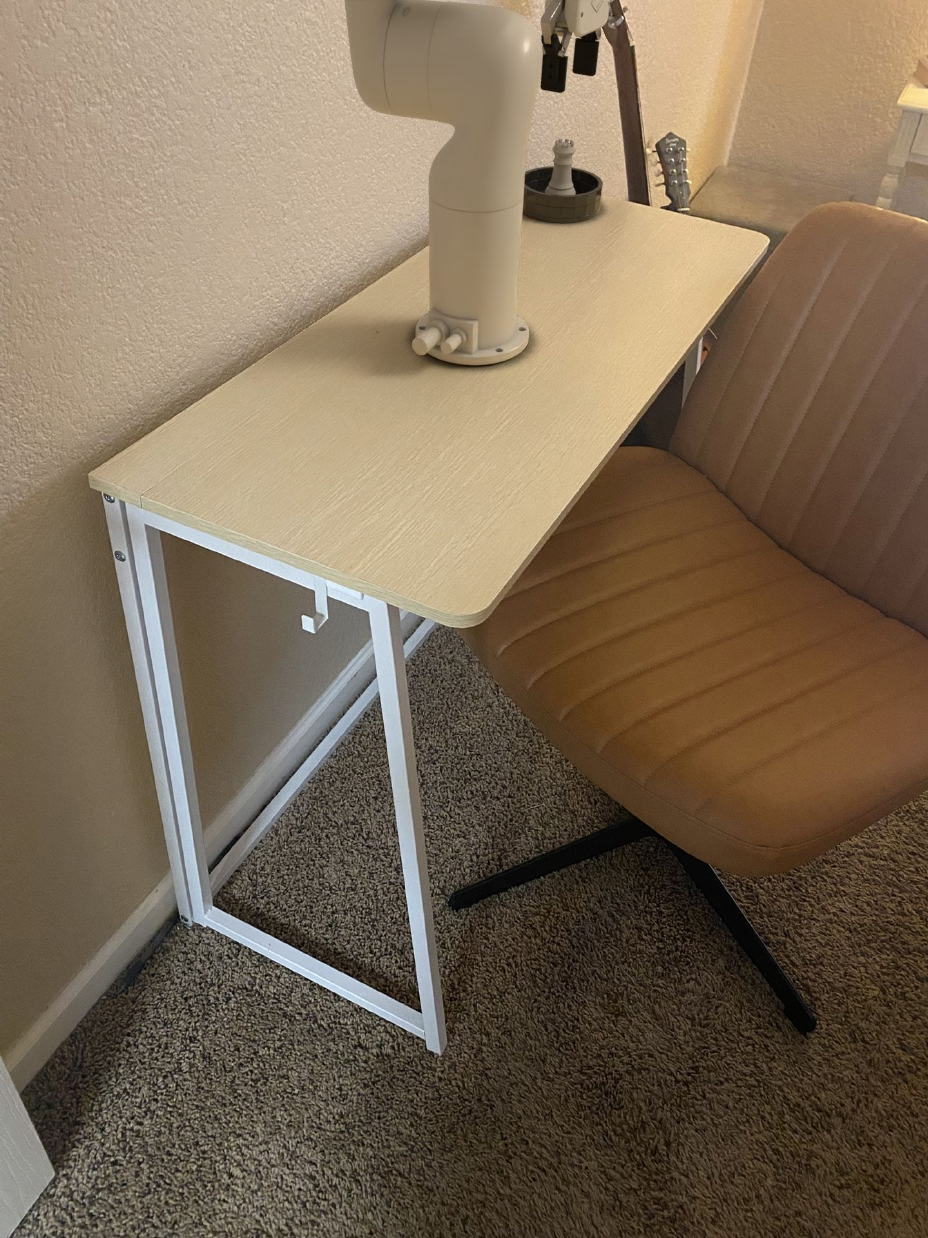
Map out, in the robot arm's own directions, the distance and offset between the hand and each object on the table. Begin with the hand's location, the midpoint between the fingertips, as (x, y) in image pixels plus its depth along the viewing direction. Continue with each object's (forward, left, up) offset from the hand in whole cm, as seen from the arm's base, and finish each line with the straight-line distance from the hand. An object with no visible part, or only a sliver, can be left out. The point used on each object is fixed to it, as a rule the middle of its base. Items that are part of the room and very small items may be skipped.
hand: (568, 82), depth 121 cm
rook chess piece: (0, 0, -16) cm, 16 cm away
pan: (+1, 0, -16) cm, 16 cm away
